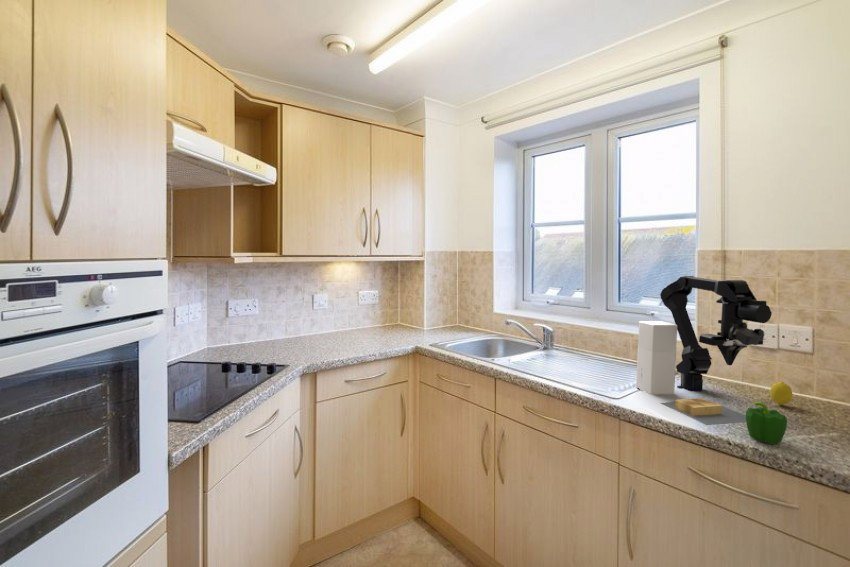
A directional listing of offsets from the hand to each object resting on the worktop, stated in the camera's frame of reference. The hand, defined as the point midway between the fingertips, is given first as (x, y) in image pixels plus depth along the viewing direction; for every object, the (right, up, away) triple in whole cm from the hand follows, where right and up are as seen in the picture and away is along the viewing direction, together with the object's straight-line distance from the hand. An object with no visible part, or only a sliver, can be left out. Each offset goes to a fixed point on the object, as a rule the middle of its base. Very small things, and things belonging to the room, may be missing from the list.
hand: (729, 365), depth 136 cm
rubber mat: (-13, -13, -8) cm, 20 cm away
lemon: (+16, -13, -1) cm, 21 cm away
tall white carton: (-18, -12, +12) cm, 25 cm away
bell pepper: (-11, -15, -27) cm, 33 cm away
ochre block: (-11, -11, -7) cm, 17 cm away
